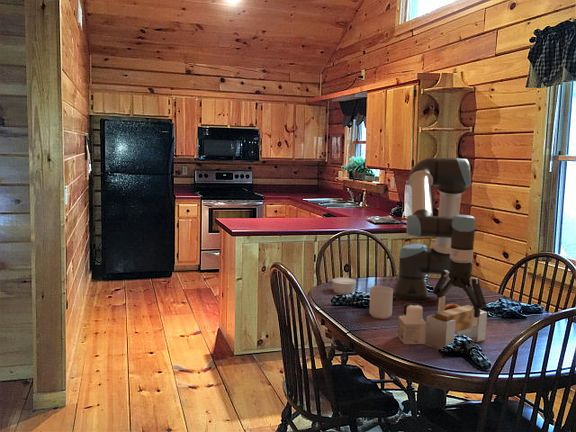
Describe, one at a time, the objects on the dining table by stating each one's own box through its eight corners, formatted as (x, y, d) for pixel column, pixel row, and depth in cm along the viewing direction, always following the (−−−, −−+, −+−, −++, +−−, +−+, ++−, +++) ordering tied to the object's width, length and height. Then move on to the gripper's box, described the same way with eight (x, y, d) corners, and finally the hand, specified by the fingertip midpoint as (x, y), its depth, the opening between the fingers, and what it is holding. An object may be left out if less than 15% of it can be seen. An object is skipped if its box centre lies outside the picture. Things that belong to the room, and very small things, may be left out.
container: (397, 336, 192) (399, 301, 190) (418, 336, 193) (420, 301, 191) (403, 344, 184) (405, 307, 183) (425, 344, 185) (428, 307, 183)
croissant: (449, 319, 224) (440, 301, 225) (472, 311, 220) (463, 293, 221) (442, 334, 205) (433, 314, 205) (467, 325, 201) (458, 305, 201)
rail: (466, 322, 194) (468, 304, 193) (477, 325, 190) (479, 307, 189) (434, 331, 183) (435, 312, 183) (444, 335, 180) (446, 316, 179)
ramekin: (340, 296, 242) (341, 284, 241) (326, 290, 252) (327, 279, 251) (360, 293, 248) (361, 282, 247) (346, 287, 257) (346, 276, 257)
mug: (390, 320, 210) (391, 292, 208) (367, 317, 212) (368, 290, 211) (394, 311, 221) (395, 285, 219) (372, 309, 224) (373, 283, 222)
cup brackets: (464, 332, 197) (466, 305, 196) (485, 339, 191) (487, 312, 189) (425, 344, 185) (426, 316, 183) (445, 352, 178) (446, 322, 176)
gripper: (424, 254, 192) (421, 312, 195) (486, 269, 172) (481, 333, 175) (438, 252, 196) (435, 308, 199) (500, 266, 176) (495, 328, 179)
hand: (456, 320), depth 187 cm, fingers open, 13 cm apart
